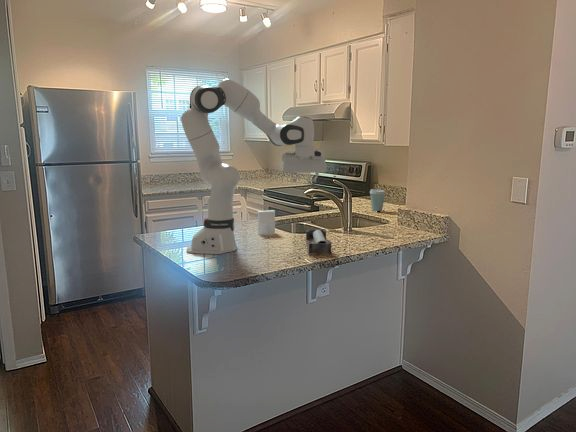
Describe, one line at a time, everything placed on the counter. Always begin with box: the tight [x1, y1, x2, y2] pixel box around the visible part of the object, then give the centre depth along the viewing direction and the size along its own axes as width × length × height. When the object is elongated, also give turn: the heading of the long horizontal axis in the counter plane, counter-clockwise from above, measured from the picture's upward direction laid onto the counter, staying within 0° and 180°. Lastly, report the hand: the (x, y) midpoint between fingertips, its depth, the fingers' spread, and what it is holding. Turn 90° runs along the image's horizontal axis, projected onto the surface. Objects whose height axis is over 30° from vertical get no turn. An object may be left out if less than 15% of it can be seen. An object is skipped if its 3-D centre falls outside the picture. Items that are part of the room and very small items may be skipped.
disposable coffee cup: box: [369, 188, 386, 212], centre depth 291 cm, size 11×11×15 cm
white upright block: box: [257, 209, 276, 236], centre depth 226 cm, size 9×9×12 cm
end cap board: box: [305, 228, 333, 256], centre depth 199 cm, size 10×29×5 cm, turn 0°
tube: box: [313, 230, 327, 243], centre depth 198 cm, size 5×5×25 cm
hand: (304, 182), depth 202 cm, fingers open, 8 cm apart
